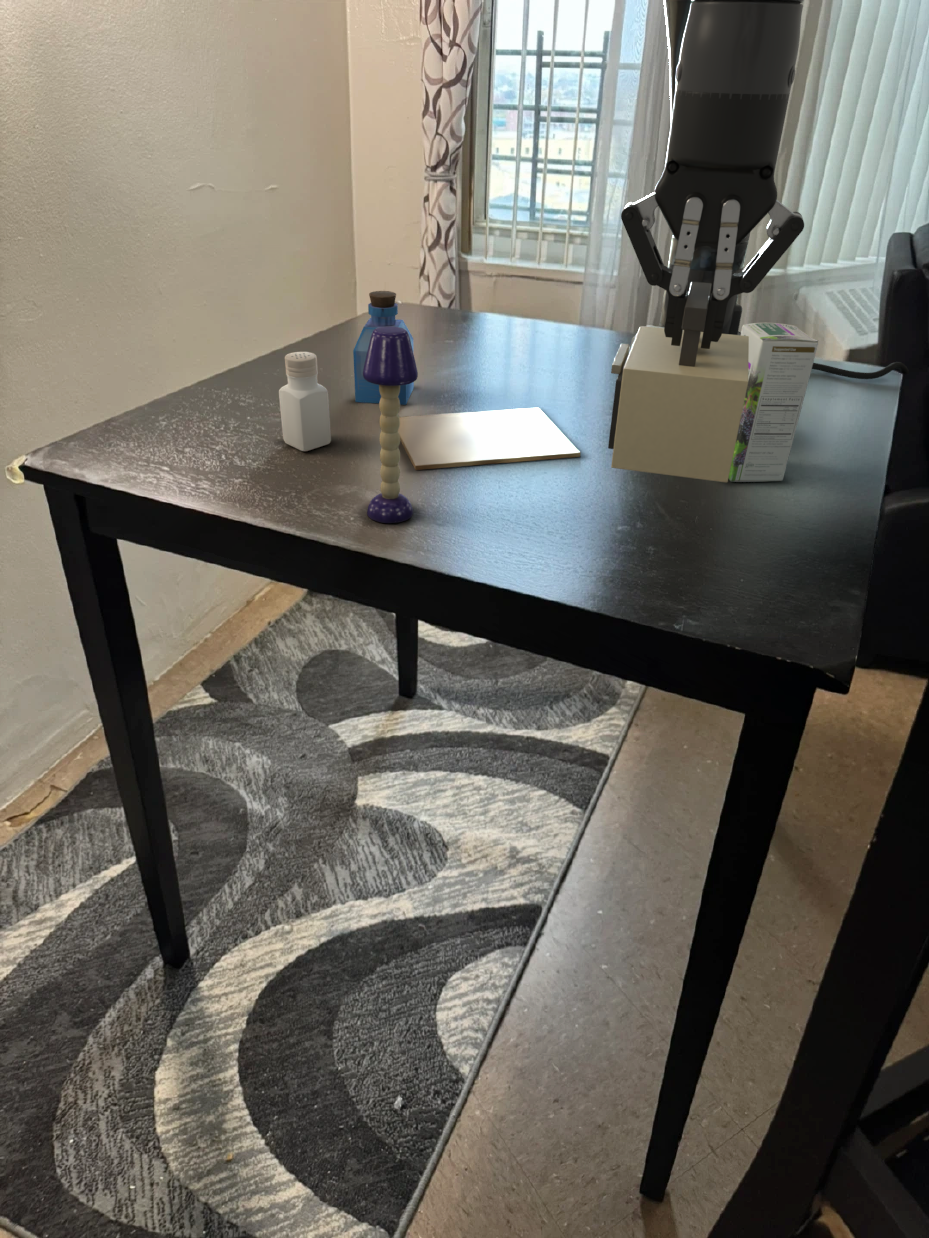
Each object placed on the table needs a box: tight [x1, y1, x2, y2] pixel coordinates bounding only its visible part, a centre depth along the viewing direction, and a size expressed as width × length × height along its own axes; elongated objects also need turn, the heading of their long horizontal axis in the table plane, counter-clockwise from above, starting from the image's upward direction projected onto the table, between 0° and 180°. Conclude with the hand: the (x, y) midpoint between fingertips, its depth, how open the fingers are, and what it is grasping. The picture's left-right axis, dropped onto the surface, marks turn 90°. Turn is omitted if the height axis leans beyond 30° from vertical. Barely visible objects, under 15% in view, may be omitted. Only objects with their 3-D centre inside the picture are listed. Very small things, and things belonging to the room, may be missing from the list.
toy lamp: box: [363, 326, 419, 524], centre depth 76 cm, size 5×5×17 cm
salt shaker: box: [278, 351, 332, 452], centre depth 91 cm, size 4×4×10 cm
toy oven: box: [607, 282, 749, 484], centre depth 70 cm, size 10×12×12 cm
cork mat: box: [398, 407, 582, 471], centre depth 96 cm, size 18×14×1 cm
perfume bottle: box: [352, 290, 415, 406], centre depth 104 cm, size 6×6×12 cm
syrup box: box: [728, 322, 819, 483], centre depth 87 cm, size 6×6×14 cm
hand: (690, 343), depth 68 cm, fingers closed on toy oven
